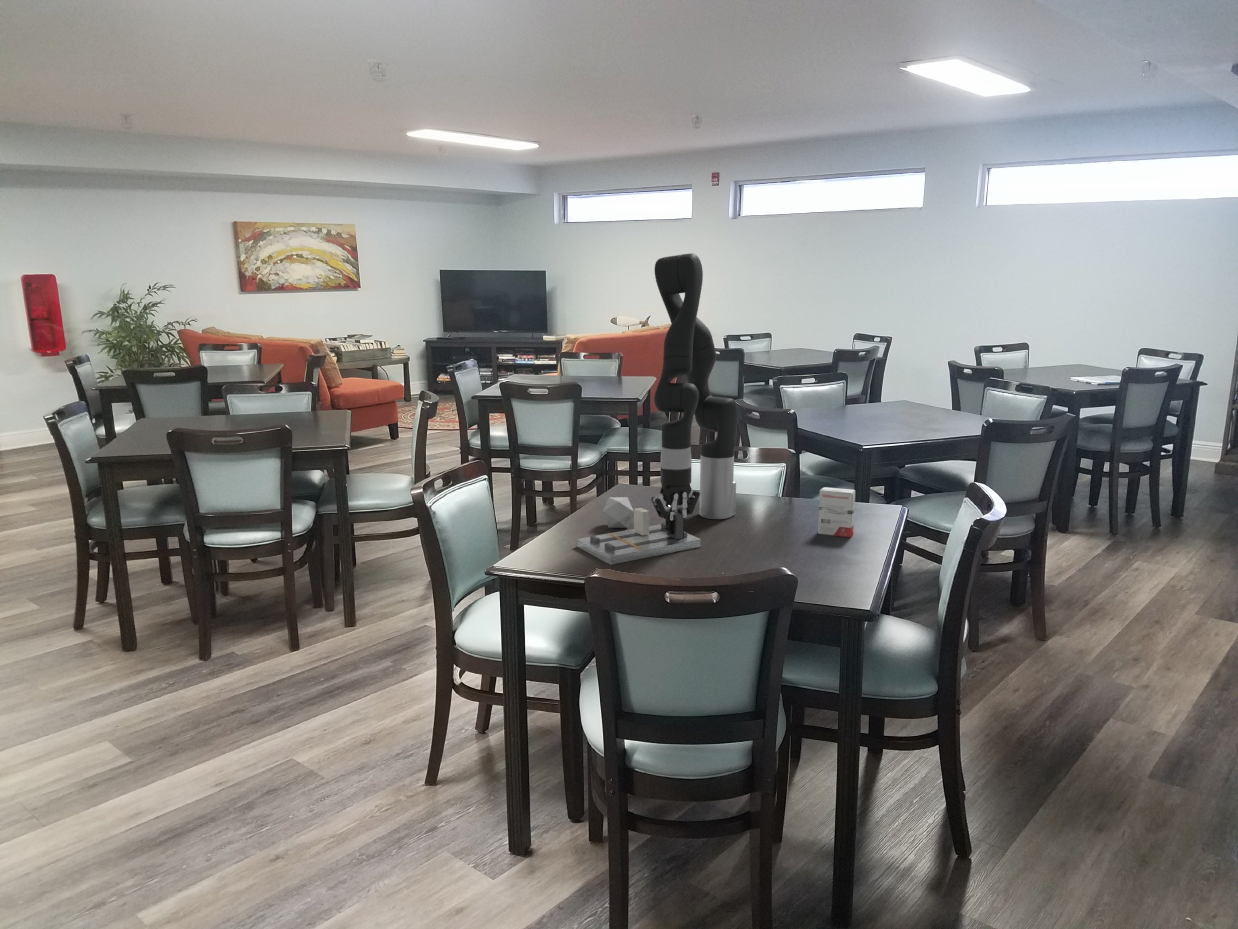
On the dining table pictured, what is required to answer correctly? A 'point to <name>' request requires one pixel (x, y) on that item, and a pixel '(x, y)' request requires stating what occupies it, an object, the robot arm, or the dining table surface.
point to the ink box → (836, 512)
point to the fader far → (641, 521)
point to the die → (618, 512)
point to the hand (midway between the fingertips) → (675, 532)
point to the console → (635, 544)
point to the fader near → (677, 526)
